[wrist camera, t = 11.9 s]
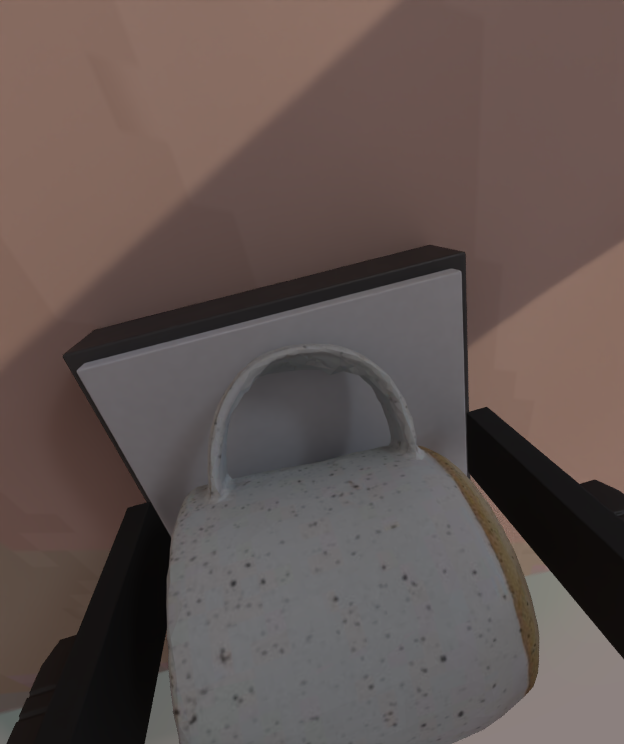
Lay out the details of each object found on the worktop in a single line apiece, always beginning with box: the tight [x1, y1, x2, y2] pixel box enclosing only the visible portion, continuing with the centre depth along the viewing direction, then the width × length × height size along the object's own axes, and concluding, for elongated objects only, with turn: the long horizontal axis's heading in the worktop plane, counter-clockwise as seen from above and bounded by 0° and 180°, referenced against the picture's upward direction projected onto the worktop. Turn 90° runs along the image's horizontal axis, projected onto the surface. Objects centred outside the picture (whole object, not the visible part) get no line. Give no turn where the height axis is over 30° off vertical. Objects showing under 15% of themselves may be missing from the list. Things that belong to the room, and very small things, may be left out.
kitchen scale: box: [63, 245, 470, 538], centre depth 15 cm, size 13×14×3 cm
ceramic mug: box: [166, 343, 539, 744], centre depth 10 cm, size 11×8×8 cm
